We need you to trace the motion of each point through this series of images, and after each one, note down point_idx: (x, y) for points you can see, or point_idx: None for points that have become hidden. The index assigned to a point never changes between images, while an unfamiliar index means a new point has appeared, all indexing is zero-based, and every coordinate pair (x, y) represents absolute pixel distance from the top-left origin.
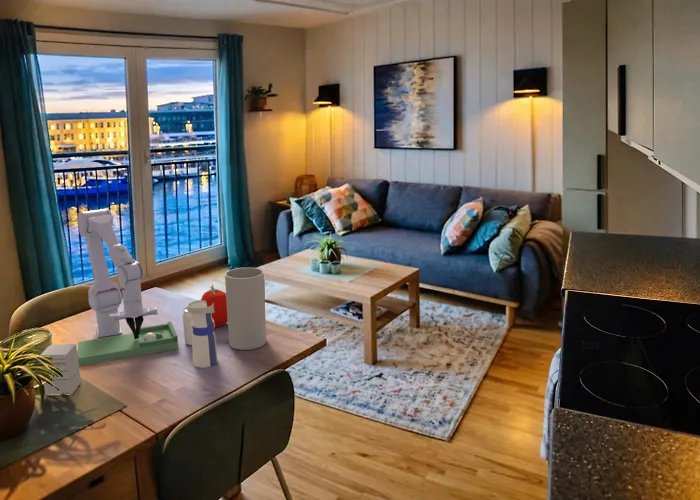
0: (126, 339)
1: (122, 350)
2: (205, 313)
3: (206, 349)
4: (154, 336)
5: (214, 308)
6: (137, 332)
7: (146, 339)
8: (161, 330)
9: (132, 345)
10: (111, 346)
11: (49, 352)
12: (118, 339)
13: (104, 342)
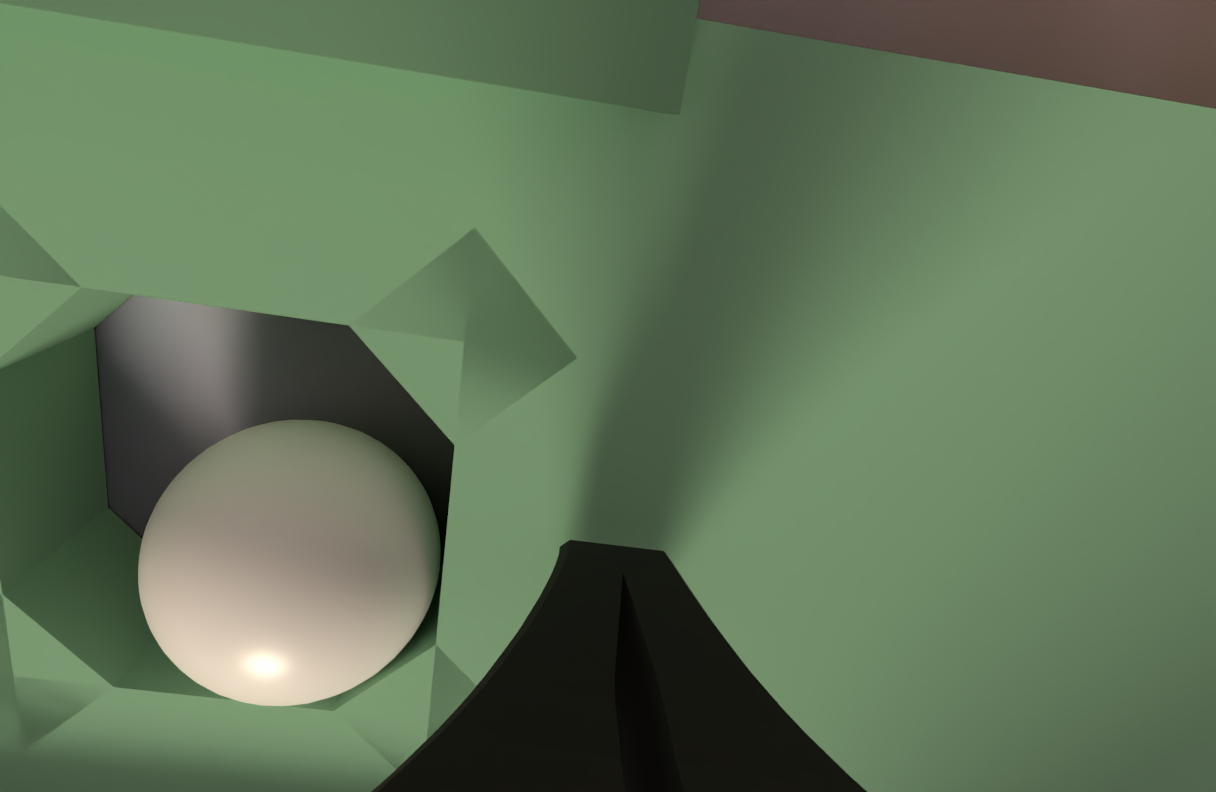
0: None
1: (1119, 124)
2: None
3: None
4: (170, 505)
5: None
6: (589, 628)
7: (390, 500)
8: (3, 784)
9: (788, 312)
10: (1192, 528)
11: None
12: (914, 789)
13: (1191, 786)
